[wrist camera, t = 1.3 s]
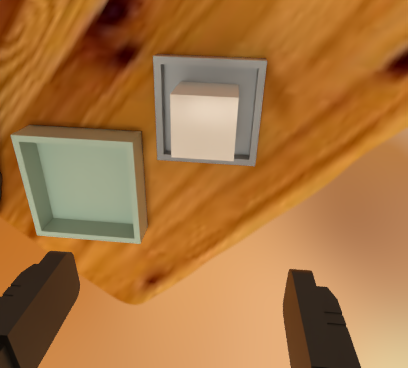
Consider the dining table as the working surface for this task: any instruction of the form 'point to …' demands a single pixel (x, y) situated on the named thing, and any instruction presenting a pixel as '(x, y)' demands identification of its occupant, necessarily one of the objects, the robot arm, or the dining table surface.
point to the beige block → (204, 120)
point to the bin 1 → (84, 182)
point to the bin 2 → (211, 73)
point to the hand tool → (0, 183)
